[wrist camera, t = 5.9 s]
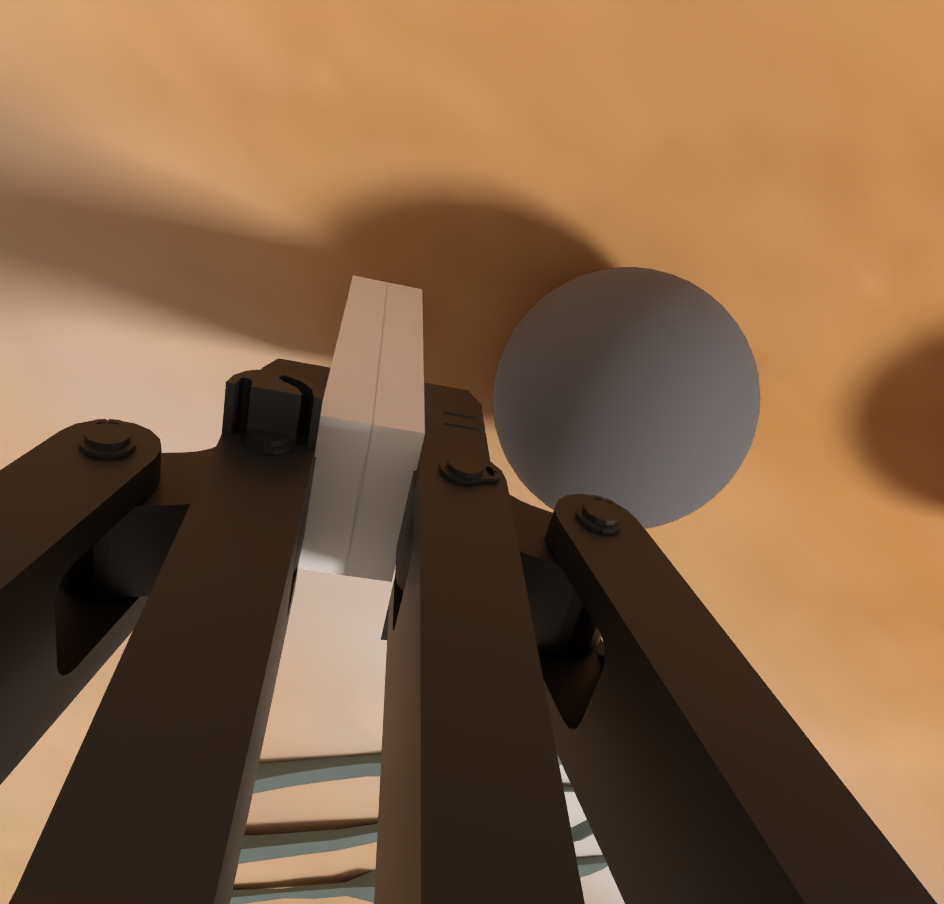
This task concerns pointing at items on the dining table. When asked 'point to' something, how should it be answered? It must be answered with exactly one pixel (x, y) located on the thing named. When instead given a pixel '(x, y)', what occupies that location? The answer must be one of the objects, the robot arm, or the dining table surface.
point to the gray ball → (627, 394)
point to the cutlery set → (332, 840)
